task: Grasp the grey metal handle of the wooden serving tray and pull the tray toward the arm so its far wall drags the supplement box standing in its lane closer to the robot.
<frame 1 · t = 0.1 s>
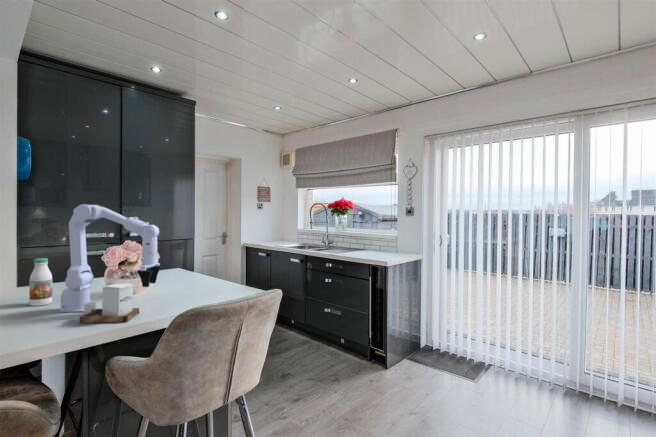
hand: (149, 284, 145), 10 cm above the breakfast bar, tool pointing down, fingers open, 7 cm apart
milk bottle: (40, 304, 149), on the breakfast bar
supplement box: (117, 318, 131), resting in wooden serving tray
wooden serving tray: (110, 310, 131), point 3 cm above the breakfast bar, slide at 0.0 cm, touching supplement box
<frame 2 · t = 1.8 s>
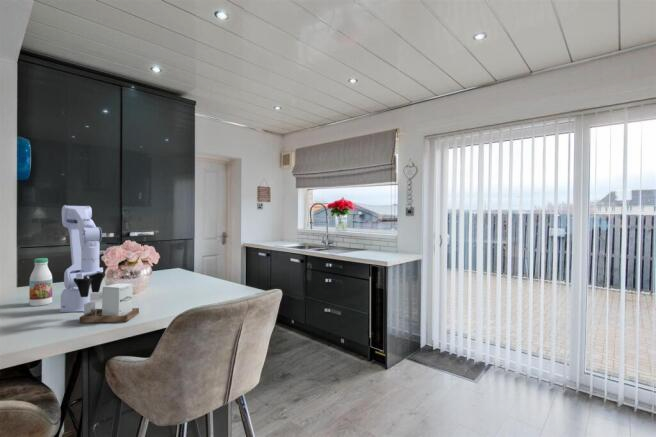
hand: (90, 294, 130), 9 cm above the breakfast bar, tool pointing down, fingers open, 7 cm apart
nothing on the breakfast bar moved.
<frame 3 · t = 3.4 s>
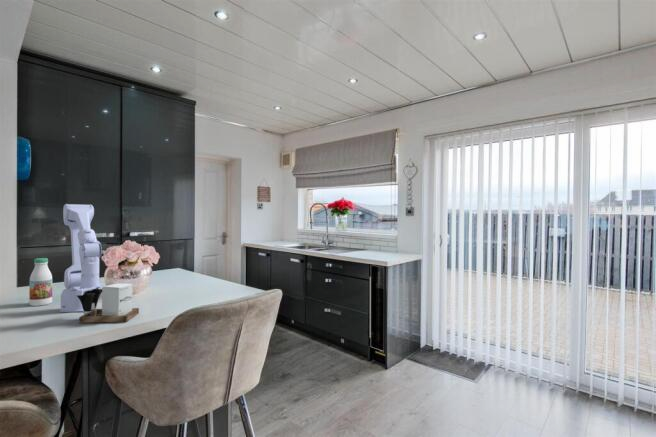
hand: (89, 309, 130), 3 cm above the breakfast bar, tool pointing down, fingers closed on wooden serving tray, 3 cm apart
wooden serving tray: (109, 310, 131), point 3 cm above the breakfast bar, slide at 0.1 cm, touching gripper, supplement box
everything else where it was.
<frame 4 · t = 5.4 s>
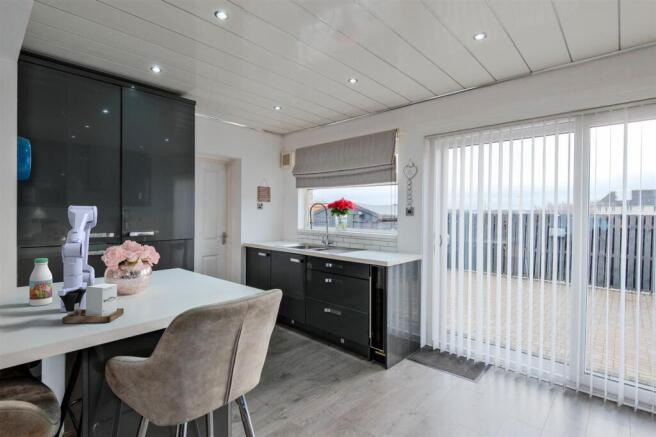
hand: (72, 310, 129), 3 cm above the breakfast bar, tool pointing down, fingers closed on wooden serving tray, 3 cm apart
supplement box: (101, 318, 131), resting in wooden serving tray
wooden serving tray: (93, 310, 130), point 3 cm above the breakfast bar, slide at 5.8 cm, touching gripper, supplement box
everything else where it was.
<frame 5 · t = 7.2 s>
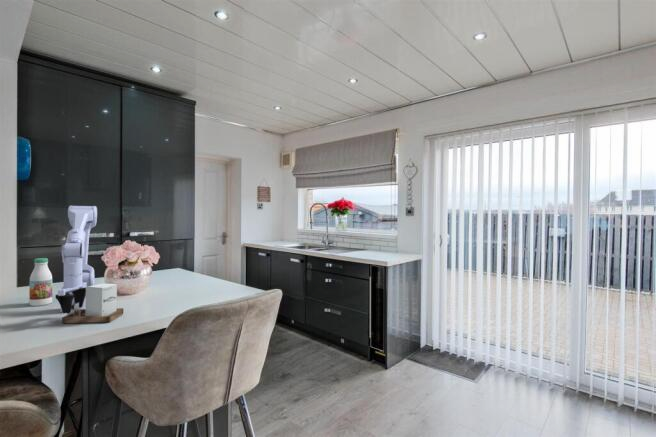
hand: (72, 310, 129), 3 cm above the breakfast bar, tool pointing down, fingers open, 7 cm apart
wooden serving tray: (93, 310, 130), point 3 cm above the breakfast bar, slide at 5.9 cm, touching supplement box
everything else where it was.
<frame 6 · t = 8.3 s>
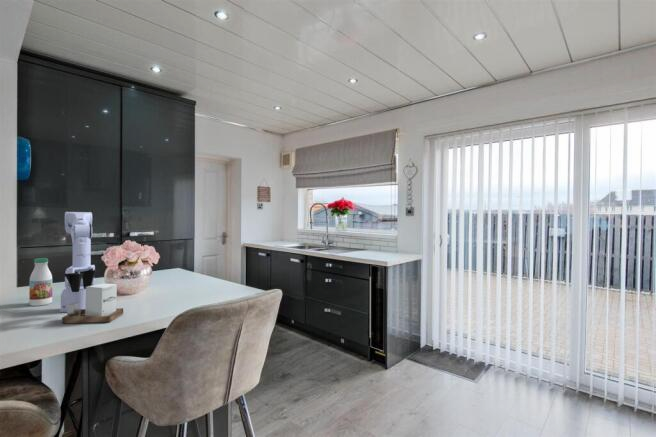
hand: (81, 290, 132), 10 cm above the breakfast bar, tool pointing down, fingers open, 7 cm apart
nothing on the breakfast bar moved.
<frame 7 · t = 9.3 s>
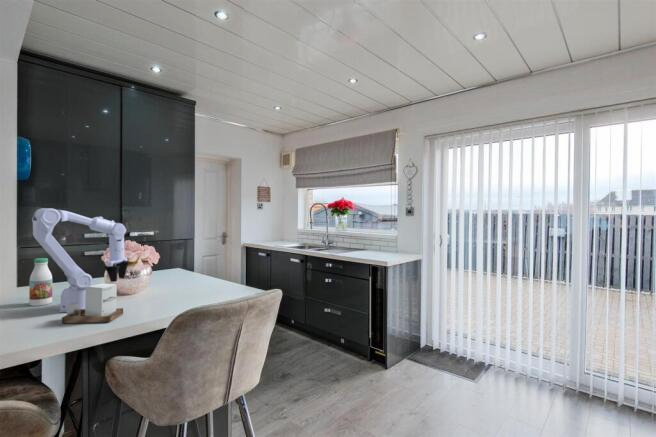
hand: (117, 279, 153), 10 cm above the breakfast bar, tool pointing down, fingers open, 7 cm apart
nothing on the breakfast bar moved.
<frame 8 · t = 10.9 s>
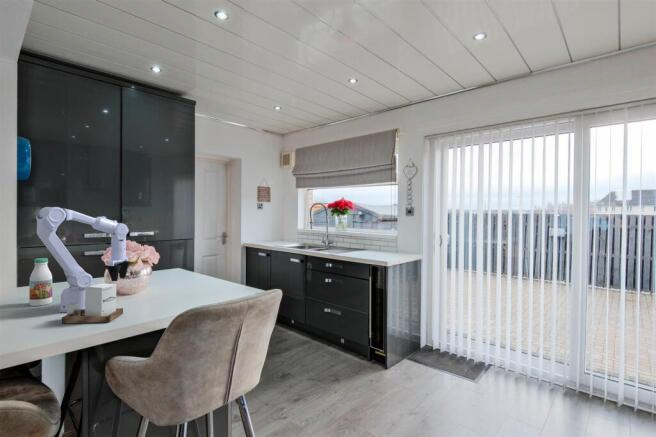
hand: (118, 279, 154), 10 cm above the breakfast bar, tool pointing down, fingers open, 7 cm apart
nothing on the breakfast bar moved.
at the end: wooden serving tray slide at 6.1 cm; supplement box 1.8 cm from the target spot, resting in wooden serving tray; supplement box tilted 0° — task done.
